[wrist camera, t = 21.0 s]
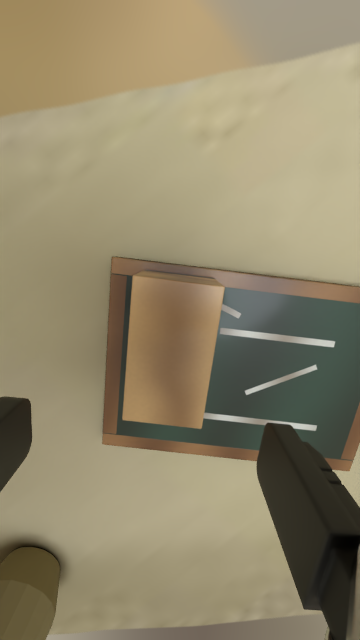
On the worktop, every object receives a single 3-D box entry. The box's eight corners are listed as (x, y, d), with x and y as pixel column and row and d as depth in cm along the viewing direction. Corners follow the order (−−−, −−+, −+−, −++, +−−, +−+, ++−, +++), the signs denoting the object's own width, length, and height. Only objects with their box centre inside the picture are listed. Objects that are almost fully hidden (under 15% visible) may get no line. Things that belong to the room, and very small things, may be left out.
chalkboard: (106, 435, 23) (102, 444, 22) (115, 256, 19) (111, 256, 18) (341, 461, 24) (349, 471, 23) (399, 291, 20) (412, 293, 19)
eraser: (136, 381, 21) (121, 420, 16) (145, 269, 18) (132, 275, 14) (197, 388, 21) (201, 429, 16) (214, 277, 19) (225, 286, 14)
